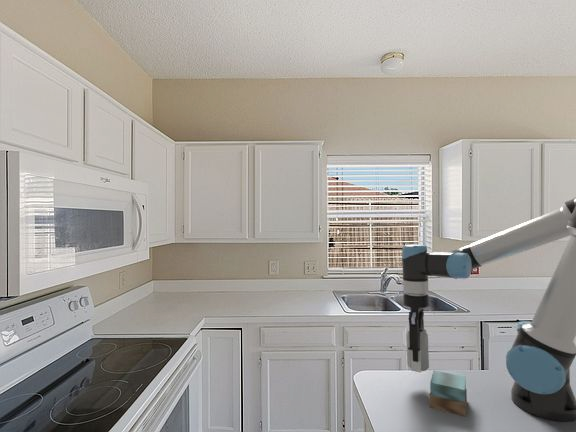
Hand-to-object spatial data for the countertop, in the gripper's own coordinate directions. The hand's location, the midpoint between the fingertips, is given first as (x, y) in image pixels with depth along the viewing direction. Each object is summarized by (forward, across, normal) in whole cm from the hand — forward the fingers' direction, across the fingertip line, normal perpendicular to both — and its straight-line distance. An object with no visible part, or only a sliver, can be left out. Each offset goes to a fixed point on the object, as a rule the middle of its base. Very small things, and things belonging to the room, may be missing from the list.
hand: (418, 366), depth 105 cm
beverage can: (+1, 0, 0) cm, 1 cm away
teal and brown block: (+7, +6, +9) cm, 13 cm away
